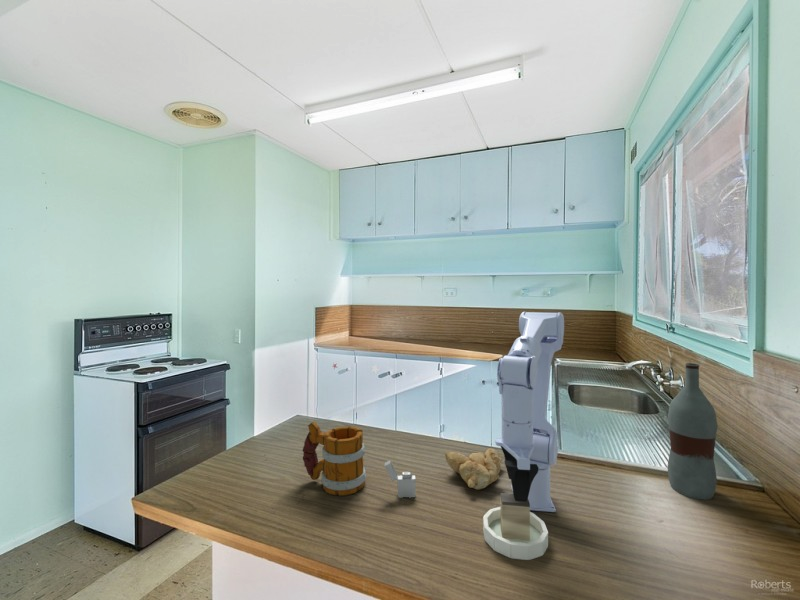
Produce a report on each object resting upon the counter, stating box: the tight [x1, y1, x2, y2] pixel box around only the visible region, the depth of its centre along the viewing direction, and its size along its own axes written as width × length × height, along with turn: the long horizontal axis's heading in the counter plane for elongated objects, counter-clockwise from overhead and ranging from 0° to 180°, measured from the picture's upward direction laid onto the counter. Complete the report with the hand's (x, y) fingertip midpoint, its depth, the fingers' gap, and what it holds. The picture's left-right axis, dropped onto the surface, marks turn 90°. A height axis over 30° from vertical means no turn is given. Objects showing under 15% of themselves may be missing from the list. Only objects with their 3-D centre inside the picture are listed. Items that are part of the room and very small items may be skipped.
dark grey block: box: [499, 492, 531, 541], centre depth 69 cm, size 3×5×7 cm, turn 81°
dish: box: [482, 506, 549, 561], centre depth 69 cm, size 12×12×2 cm
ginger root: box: [444, 447, 503, 491], centre depth 91 cm, size 16×16×8 cm
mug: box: [302, 421, 367, 497], centre depth 89 cm, size 11×16×15 cm, turn 78°
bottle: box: [667, 362, 718, 500], centre depth 85 cm, size 9×9×30 cm
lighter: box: [384, 460, 417, 499], centre depth 84 cm, size 7×2×8 cm, turn 91°
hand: (517, 488), depth 69 cm, fingers open, 7 cm apart
